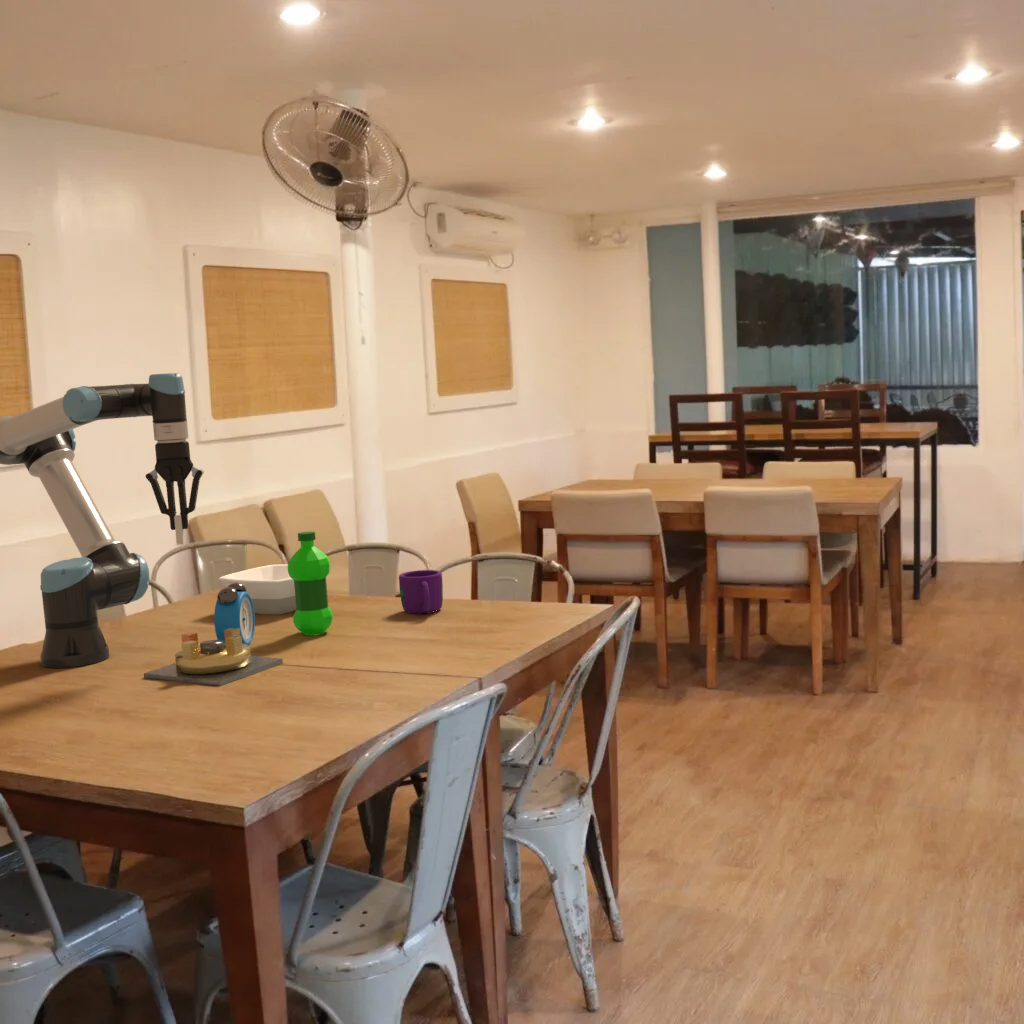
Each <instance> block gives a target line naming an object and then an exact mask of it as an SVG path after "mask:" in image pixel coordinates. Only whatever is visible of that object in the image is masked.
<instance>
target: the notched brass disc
mask: <svg viewBox="0 0 1024 1024" xmlns="http://www.w3.org/2000/svg"><path fill="white" fill-rule="evenodd" d="M224 636H225V643H224V642H223V640H217V639H210V640H208V639H207V640H205V641H201V642H199V640H198V639H199V638H198V637H199V636H198V632H190V631H189V632H185V633H183V634H181V650H179V651H178V652H176V653H175V654H174V663H176V670H177V671H179V672H181V673H188V674H207V673H217V672H224V671H229V670H233V669H237V668H240V667H243V666H245V665H247V664H249V663H250V662H251V656H252V655H251V648H250V645H249V646H248V645H246V644H242V637H241V636H240V628H229V629H226V630H224Z"/></svg>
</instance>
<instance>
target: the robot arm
mask: <svg viewBox="0 0 1024 1024" xmlns="http://www.w3.org/2000/svg"><path fill="white" fill-rule="evenodd" d="M185 393H186V390H185V385H184V381H183V375H182V374H180V373H179V372H169V373H154V374H150V375H149V377H148V382H147V383H125V384H116V385H115V384H114V385H96V386H95V385H93V386H88V385H87V386H86V385H81V386H78V387H72V388H69V389H68V390H67V391H66V393H65V394H64V395H63V396H62V397H59V398H58V399H57V398H56V399H54V400H52V401H49V402H47V403H45V404H42V405H39V406H36V407H34V408H31V409H29V410H27V411H24V412H21V413H19V414H17V415H13V416H12V415H2V416H0V465H6V466H13V465H22V464H23V465H25V467H26V470H27V471H28V473H29V474H30V476H32V477H35V478H39V480H40V482H41V483H42V485H43V488H45V490H46V492H47V495H48V496H49V498H50V500H51V503H53V505H54V507H55V510H56V511H57V513H58V515H59V517H60V518H61V520H62V522H63V524H64V526H65V528H66V530H67V531H68V534H69V535H70V537H71V539H72V541H73V543H74V544H75V547H76V548H77V550H78V552H79V554H80V556H81V557H72V558H68V559H63V560H58V561H55V562H53V563H51V564H48V565H46V566H44V568H43V569H42V570H41V572H40V591H41V598H42V606H43V607H42V609H43V617H44V626H45V634H44V639H43V644H42V650H41V652H40V655H39V656H40V665H41V667H45V668H51V669H52V668H53V669H55V668H56V669H58V668H59V669H61V668H74V667H81V666H87V665H91V664H96V663H99V662H101V661H105V660H106V659H108V658H109V657H110V650H109V648H110V647H109V645H108V643H106V639H105V637H104V634H103V632H102V630H101V627H100V626H99V616H98V611H101V610H105V609H109V608H113V607H118V606H121V605H127V604H130V603H132V602H136V601H138V600H140V599H142V598H143V597H144V595H145V594H146V593H147V591H148V588H149V585H150V570H149V569H150V568H149V566H148V563H147V561H146V560H145V558H144V557H143V556H142V555H140V554H138V553H135V552H131V553H130V551H128V548H127V546H126V545H125V543H124V542H123V541H120V540H115V538H114V536H113V534H112V532H111V530H110V529H109V527H108V525H107V523H106V522H105V520H104V518H103V516H102V514H101V512H100V511H99V509H98V507H97V505H96V504H95V502H94V500H93V498H92V496H91V494H90V493H89V491H88V489H87V487H86V485H85V483H84V481H83V480H82V478H81V476H80V475H79V471H77V469H76V466H75V465H74V463H73V461H74V459H75V450H76V447H77V442H76V441H75V439H76V435H75V431H74V430H75V429H77V428H80V427H82V426H84V425H88V424H91V423H93V422H96V421H100V420H101V421H102V420H109V419H111V420H112V419H113V420H115V419H123V418H138V417H139V418H140V417H152V427H153V439H154V441H155V442H156V443H155V444H154V449H155V460H156V461H155V465H154V469H153V470H152V471H150V472H148V473H146V474H145V478H146V480H147V481H148V482H149V483H150V485H151V489H152V491H153V494H154V496H155V499H156V503H157V506H158V508H159V511H160V513H161V514H162V515H167V516H168V517H169V524H170V529H171V531H175V539H176V545H184V544H185V543H186V535H185V530H186V529H188V528H189V517H188V515H189V514H190V513H192V512H194V511H196V507H197V498H198V494H199V488H200V487H199V486H200V482H201V481H200V480H201V478H202V476H203V475H204V470H203V469H199V468H197V467H195V466H194V464H193V461H192V459H191V451H190V442H189V441H188V439H189V429H188V420H187V418H188V417H187V407H186V406H187V405H186V397H185V396H186V395H185ZM190 473H191V476H192V477H193V478H192V482H191V488H190V495H189V500H188V501H189V502H188V501H187V492H186V479H187V478H188V476H189V475H190ZM158 475H159V476H160V478H162V480H163V481H164V482H165V488H166V498H167V503H166V501H165V498H164V495H163V491H162V489H161V486H160V484H159V483H160V482H159V481H158V478H159V476H158ZM175 482H176V483H177V484H176V485H177V489H178V490H177V491H178V502H179V514H177V508H176V498H175Z"/></svg>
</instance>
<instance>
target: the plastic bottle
mask: <svg viewBox="0 0 1024 1024" xmlns="http://www.w3.org/2000/svg"><path fill="white" fill-rule="evenodd" d="M316 539H317V537H316V531H301V532H297V541H298V542H300V548H299V549H297V551H296V552H295V553H294V554H293V555H292V556H291V557H290V558H289V560H288V563H287V564H288V573H289V576H290V577H291V578H292V579H293V580H294V586H295V598H296V610H295V611H294V613H293V618H292V619H293V624H294V627H295V628H296V629H297V630H298V631H299V632H300V633H303V635H305V636H317V635H322V634H325V632H326V631H327V630H328V629H329V628H330V626H331V625H332V622H333V618H334V614H333V610H332V609H331V607H330V606H329V598H328V587H327V586H328V585H327V577H328V575H329V574H330V571H331V570H330V568H331V560H330V558H329V556H328V555H327V554H325V552H323V551H322V550H321V549H320V548H318V547H316V546H315V543H314V542H315V540H316Z"/></svg>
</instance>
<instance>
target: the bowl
mask: <svg viewBox="0 0 1024 1024" xmlns="http://www.w3.org/2000/svg"><path fill="white" fill-rule="evenodd" d="M330 571H331V567H330ZM218 581H219V582H221V584H223V586H224V587H225V588H226V587H227V586H228V585H230V584H232V583H236V582H237V583H240V584H242V585H244V586H245V587H246V590H247V593H248V594H249V595H250V597H251V599H252V602H253V607H254V614H258V615H283V614H287V613H291V612H295V611H296V598H295V586H294V580H293V579H292V578H291V577H290V576H289V573H288V563H286V564H275V563H274V564H269V565H263V566H262V565H261V566H258V567H253V568H248V569H245V570H241V571H236V572H233V573H229V574H226V575H222V576H220V577H218Z"/></svg>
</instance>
